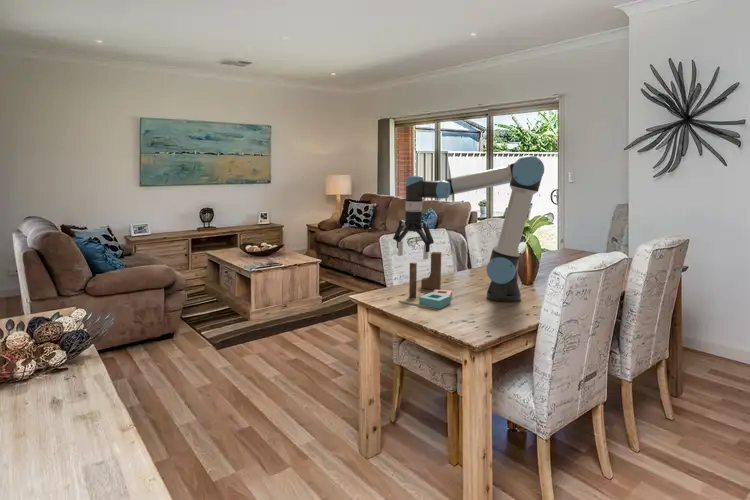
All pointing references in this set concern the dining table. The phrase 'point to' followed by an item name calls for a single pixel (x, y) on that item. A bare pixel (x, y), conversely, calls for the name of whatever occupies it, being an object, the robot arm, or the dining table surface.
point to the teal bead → (435, 300)
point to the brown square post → (412, 280)
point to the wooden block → (433, 273)
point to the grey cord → (412, 303)
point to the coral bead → (443, 292)
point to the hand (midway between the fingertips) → (412, 257)
